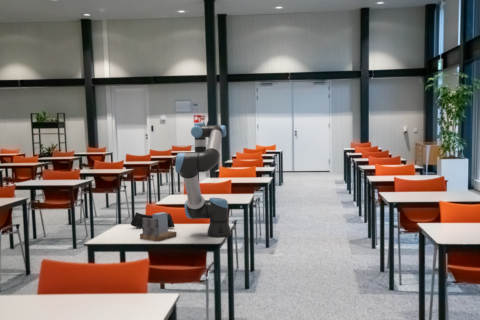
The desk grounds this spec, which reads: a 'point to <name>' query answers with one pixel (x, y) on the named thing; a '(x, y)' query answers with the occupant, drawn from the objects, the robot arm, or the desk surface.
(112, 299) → the desk surface
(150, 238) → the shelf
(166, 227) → the slate gray rectangular prism
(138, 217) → the magazine
